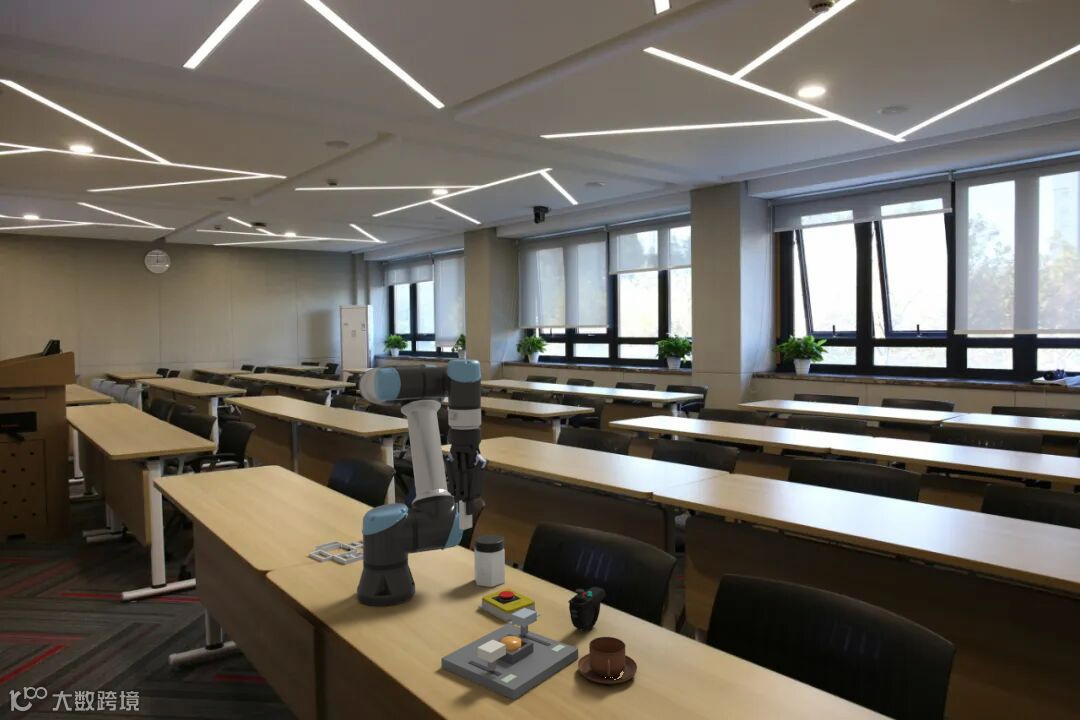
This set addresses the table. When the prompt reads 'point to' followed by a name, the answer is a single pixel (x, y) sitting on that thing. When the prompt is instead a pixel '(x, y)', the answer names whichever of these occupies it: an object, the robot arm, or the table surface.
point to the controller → (586, 607)
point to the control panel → (511, 662)
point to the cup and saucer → (607, 661)
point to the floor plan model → (339, 557)
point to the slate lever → (524, 619)
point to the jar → (489, 560)
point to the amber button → (511, 643)
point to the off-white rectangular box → (491, 652)
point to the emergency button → (506, 604)
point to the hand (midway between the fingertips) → (465, 527)
